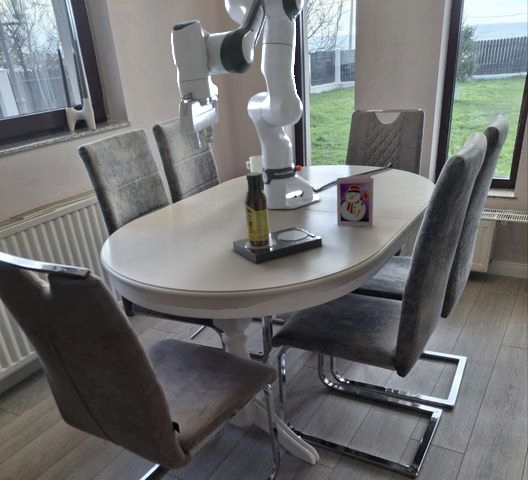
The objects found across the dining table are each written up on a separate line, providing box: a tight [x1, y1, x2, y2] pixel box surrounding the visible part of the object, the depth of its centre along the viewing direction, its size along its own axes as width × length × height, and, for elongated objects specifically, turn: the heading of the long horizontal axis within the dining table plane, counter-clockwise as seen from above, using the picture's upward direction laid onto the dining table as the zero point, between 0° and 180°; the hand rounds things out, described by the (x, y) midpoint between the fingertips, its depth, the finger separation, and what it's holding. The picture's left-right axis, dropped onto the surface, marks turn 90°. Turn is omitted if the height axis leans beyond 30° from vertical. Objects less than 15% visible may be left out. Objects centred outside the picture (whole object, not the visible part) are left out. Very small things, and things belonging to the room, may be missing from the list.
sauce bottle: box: [244, 172, 270, 246], centre depth 144 cm, size 6×6×20 cm
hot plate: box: [232, 226, 323, 264], centre depth 151 cm, size 22×15×3 cm
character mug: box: [245, 154, 264, 189], centre depth 220 cm, size 11×7×13 cm, turn 71°
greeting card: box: [336, 173, 374, 227], centre depth 163 cm, size 11×7×15 cm, turn 68°
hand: (204, 145), depth 144 cm, fingers open, 8 cm apart
